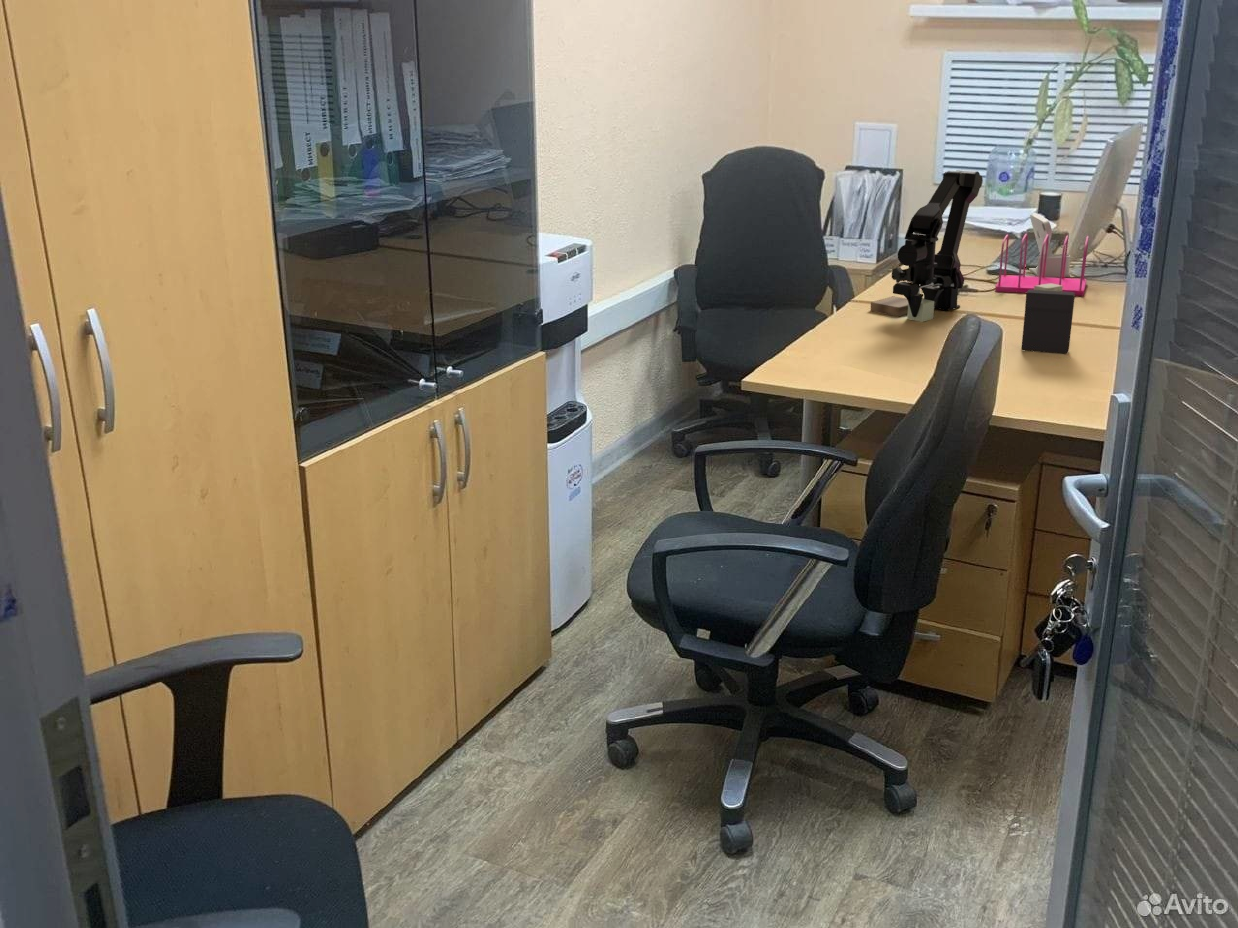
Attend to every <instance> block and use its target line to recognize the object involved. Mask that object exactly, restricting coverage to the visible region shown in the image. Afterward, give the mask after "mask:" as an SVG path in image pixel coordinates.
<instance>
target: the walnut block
mask: <svg viewBox="0 0 1238 928" xmlns="http://www.w3.org/2000/svg"><path fill="white" fill-rule="evenodd" d="M870 312H875V313H880V314H885V315H888V316H889V315H890V316H894V317H902V316H907V315H908V300H907V298H906V297H899V296H889V297H885V298H880V299H878V300H874V301H871V302H870Z"/></svg>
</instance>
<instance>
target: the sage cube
mask: <svg viewBox="0 0 1238 928" xmlns="http://www.w3.org/2000/svg"><path fill="white" fill-rule="evenodd" d="M934 311H935V308H934V301H931V300H926V299H924V298H922V301H921V304H920V308H919V311H918V314H917V316H916V317H913V316H912V313H911V310H910V306H909V303H908V314H906V317H907V320H911V321H914V322H915V321H916V322H921V323H923V322H927V321H930V320H933V319H934Z"/></svg>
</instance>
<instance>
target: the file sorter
mask: <svg viewBox="0 0 1238 928" xmlns="http://www.w3.org/2000/svg"><path fill="white" fill-rule="evenodd" d="M1009 237H1010V235H1009V234H1006V235H1005V236H1004V238H1003V240H1002V243H1001V251H1000V261H999V273H998V281H997V283H996V285H995V287H994V288H995V289H994V292H997V293H999V292H1001V293H1022V294H1027V292H1028V290H1034V286H1036V285H1042V284H1048V283H1053V284H1057V285H1062V286H1063V290H1062V291H1063V292H1074V293H1075V297H1083V296H1084V294H1085V290H1086V286H1087V278H1085V272H1086V271H1085V270H1086V263H1087V256H1088V255H1087V254H1088V249H1089V247H1088V246H1089V239H1090V236H1089V235H1087V236H1086V238H1085V243H1084V247H1083V248H1084V250H1083V253H1082V254H1083V256H1082V264H1081V273H1080V278H1071V277H1064V274H1065V265H1066V256H1067V255H1068V254H1067V253H1068V244H1069V235H1066V236H1065V239H1064V242H1063V245H1062V253H1061V254H1062V261H1061V271H1060V277H1044V276H1045V267H1046V258H1047V249H1048V240H1049V234H1047V235H1046V237H1045V239H1044V242H1043V246H1042V253H1041V263H1040V274H1039V277H1038V276H1032V275H1031V276H1028V275H1026V268H1025V267H1026V264H1027V254H1028V253H1027V251H1028V250H1027V249H1028V233H1025V234H1024V235H1023V238H1022V239H1021V245H1020V255H1019V266H1018V267H1019V268H1018V269H1019V270H1018V275H1009V274H1008V275H1007V264H1008V254H1009V253H1008V251H1009V240H1010V238H1009ZM1046 240H1047V241H1046ZM1005 242H1006V246H1005ZM1045 242H1046V250H1045V259H1044V268H1043V277H1041V274H1042V264H1043V254H1044V246H1045ZM1024 244H1025V245H1024ZM1004 248H1005V259H1004V260H1003V257H1004ZM1023 248H1024V249H1023ZM1023 250H1024V251H1023ZM1023 252H1024V257H1023ZM1064 254H1065V256H1064ZM1023 259H1024V260H1023ZM1003 261H1004V271H1003V274H1002V269H1003V268H1002V267H1003ZM1063 261H1064V265H1063ZM1022 263H1023V265H1022ZM1022 266H1023V270H1022ZM1062 270H1063V274H1062Z"/></svg>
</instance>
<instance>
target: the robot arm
mask: <svg viewBox="0 0 1238 928" xmlns="http://www.w3.org/2000/svg"><path fill="white" fill-rule="evenodd" d="M983 178H984V177H983V176H982V175H981V174H980V172H979V171H976V170H963V169H962V170H947V171H944V173H943V175H942V180H940V181H941V182H940V183H939V185H938V186H937V188H936V190H935V192H934V193H933V194H932V196H931V198H930V199H929V201H928V202H927V204H926V205H923V206H922V207H920V208H919V209H918V210H917V211H916V212H915V213H914V214H913V216H912V217H911V219H910V222H909V224H908V228H907V230H906V232H905V236H904V240H905V241H904V245H902V246H901V247H899V249H898V251H897V259H898V261H899V262H900V264H901V265H903V266H906V267H908V268H904V269H902V267H900V266H899V267H895V268H892V269H891V270H892V271H891V279H892V280H893V281H895V282H896V283H895V284H894V285H893V286H892V294H894V295H900V296H904V298H905V299H907V300H908V303H909V306H910V310H911V313H912V316H913V317H916V316H917V314H918V311H919V308H920V304H921V301H922V299H926V300H931V301H934V310H935V309H936V310H941V311H950V310H954V309H958V308H961V304H958V298H959V297H958V296H959V295H958V294H959V290H960V289H963V287H964V284H965V277H964V275H963V273H962V271H961V266H962V265H961V260H960V258H959V254H958V253H959V249H960V246H961V240H962V236H963V232H964V228H965V224H966V219H967V215H968V212H969V209H970V204H971V203H972V202H973V201H974V200H975V199H976V198H977V197H978V195H979V192H980V189H981V187H982V185H983ZM950 203H951V205H950V209H949V214H948V219H947V222H946V225H945V226H946V227H945V229H944V233H943V234H944V235H943V239H942V242H941V246H940V248H939V249H940V250H939V251H938V252H937V253H936V246H937V243H936V242H938V241H939V237H938V235H939V233H940V232H941V229H942V228H943V224H944V219H943V215H944V213H945V211H946V210H947V208H948V207H949V204H950ZM921 291H922V293H921Z"/></svg>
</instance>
